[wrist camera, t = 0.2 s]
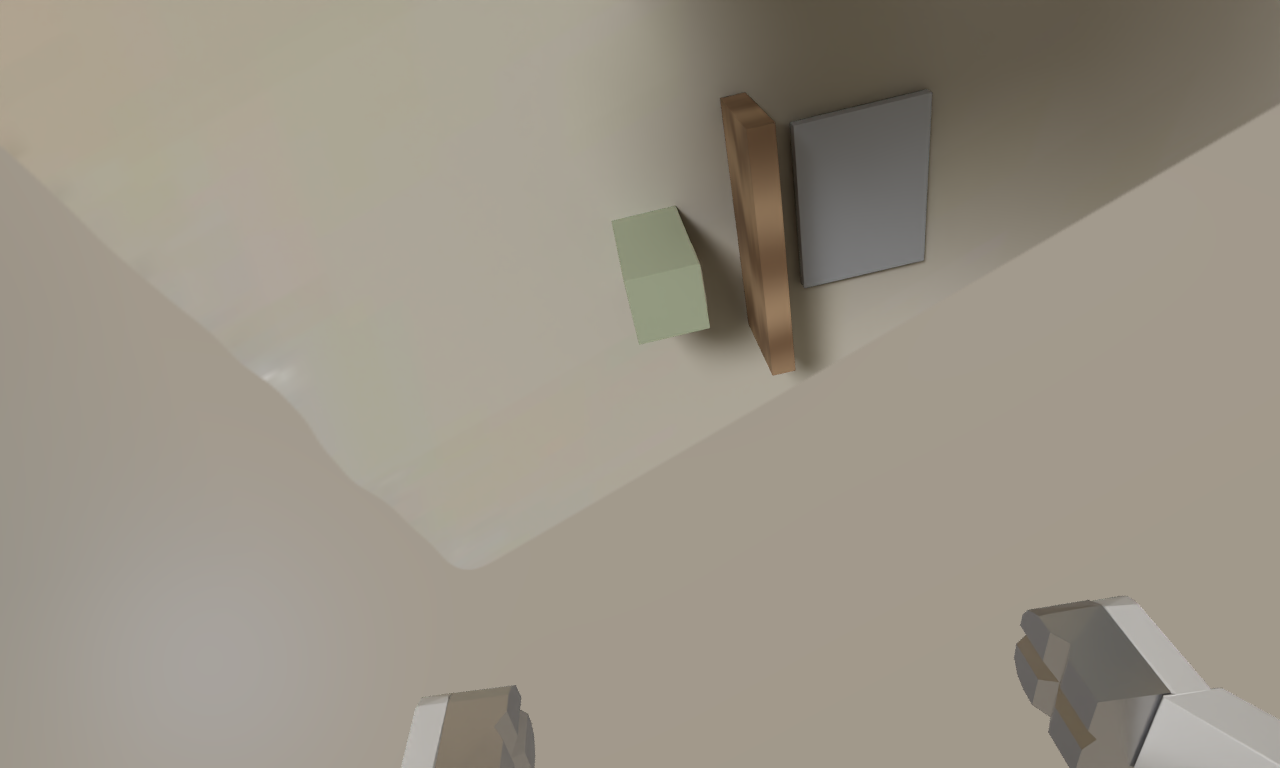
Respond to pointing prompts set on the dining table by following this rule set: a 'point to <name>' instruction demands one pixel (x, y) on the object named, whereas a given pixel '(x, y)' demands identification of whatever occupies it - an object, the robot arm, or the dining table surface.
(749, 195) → the walnut screen
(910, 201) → the display mat
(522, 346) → the dining table surface
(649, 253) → the olive letter block
